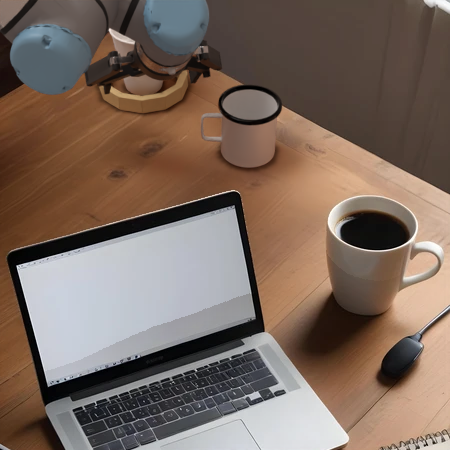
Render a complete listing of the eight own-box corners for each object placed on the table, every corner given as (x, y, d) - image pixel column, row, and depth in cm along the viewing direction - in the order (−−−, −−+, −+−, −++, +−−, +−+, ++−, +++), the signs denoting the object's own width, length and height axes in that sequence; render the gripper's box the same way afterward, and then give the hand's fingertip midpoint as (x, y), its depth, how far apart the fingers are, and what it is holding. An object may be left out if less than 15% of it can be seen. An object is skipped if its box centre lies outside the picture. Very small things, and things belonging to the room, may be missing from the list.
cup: (110, 72, 142) (105, 12, 134) (168, 66, 144) (166, 7, 135) (118, 107, 136) (112, 46, 128) (178, 100, 137) (176, 40, 129)
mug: (277, 133, 133) (281, 84, 126) (278, 172, 126) (283, 122, 120) (202, 131, 132) (202, 82, 126) (199, 170, 126) (199, 120, 120)
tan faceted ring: (88, 105, 136) (87, 92, 134) (115, 56, 145) (114, 44, 143) (174, 118, 134) (173, 105, 133) (195, 68, 143) (195, 55, 142)
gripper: (74, 86, 108) (73, 114, 128) (260, 63, 112) (230, 94, 133) (63, 27, 107) (64, 64, 128) (251, 6, 111) (222, 46, 132)
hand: (148, 80), depth 130 cm, fingers open, 13 cm apart
